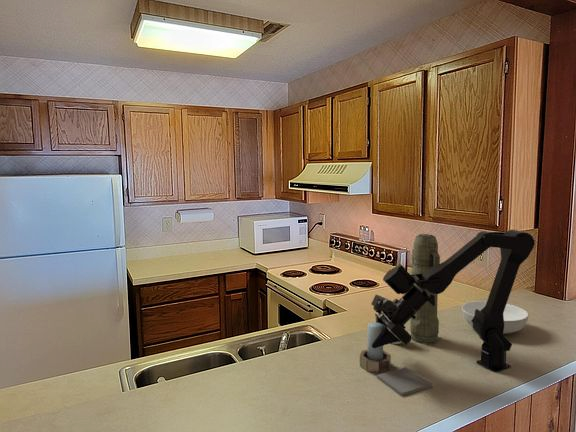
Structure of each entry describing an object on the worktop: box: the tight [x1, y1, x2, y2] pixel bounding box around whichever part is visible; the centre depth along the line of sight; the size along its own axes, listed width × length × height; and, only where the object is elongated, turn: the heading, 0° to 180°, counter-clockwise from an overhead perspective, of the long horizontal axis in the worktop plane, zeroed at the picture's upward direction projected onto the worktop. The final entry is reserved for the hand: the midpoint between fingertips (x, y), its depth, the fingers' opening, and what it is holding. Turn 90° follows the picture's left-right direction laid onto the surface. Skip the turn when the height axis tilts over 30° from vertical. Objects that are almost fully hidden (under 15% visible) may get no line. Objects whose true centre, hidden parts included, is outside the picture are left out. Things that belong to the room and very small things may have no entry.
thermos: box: [409, 233, 441, 345], centre depth 130 cm, size 9×12×35 cm
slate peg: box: [367, 321, 384, 361], centre depth 113 cm, size 4×4×12 cm
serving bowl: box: [461, 300, 529, 335], centre depth 139 cm, size 21×21×7 cm
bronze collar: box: [359, 349, 392, 374], centre depth 114 cm, size 8×8×3 cm
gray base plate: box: [376, 366, 433, 397], centre depth 104 cm, size 10×10×1 cm
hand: (370, 343), depth 113 cm, fingers closed on slate peg, 4 cm apart
